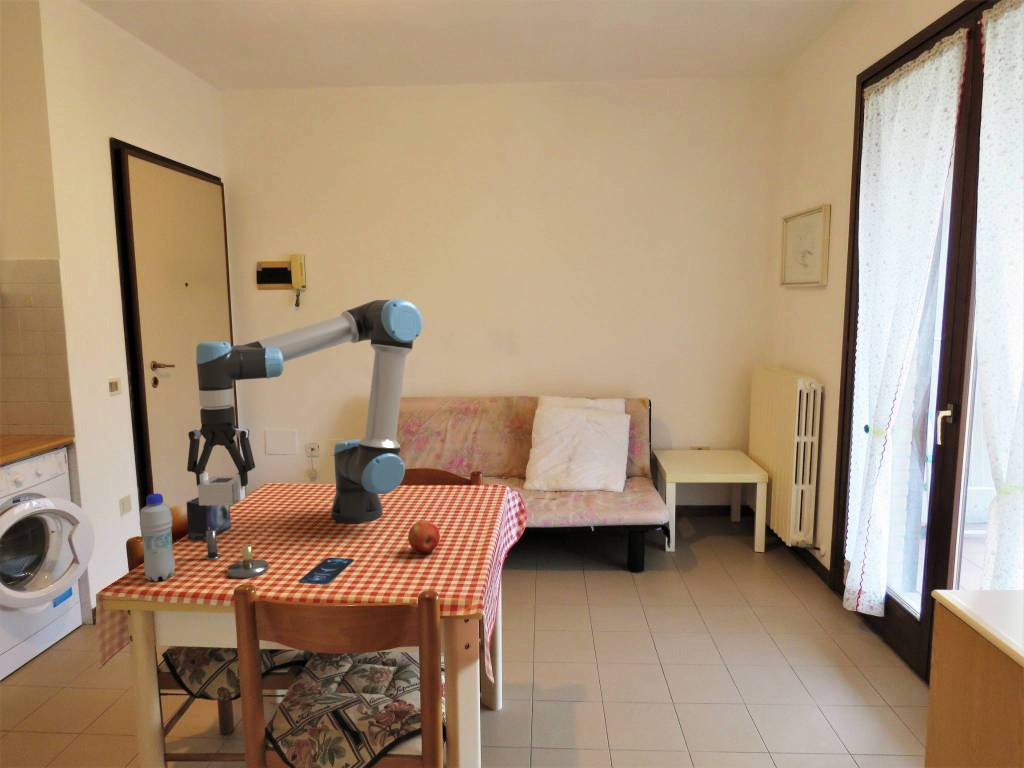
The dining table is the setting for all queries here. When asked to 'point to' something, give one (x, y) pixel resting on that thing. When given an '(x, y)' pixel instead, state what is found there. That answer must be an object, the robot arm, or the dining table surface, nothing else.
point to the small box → (206, 519)
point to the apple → (423, 537)
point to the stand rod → (211, 545)
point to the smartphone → (326, 571)
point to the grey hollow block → (218, 491)
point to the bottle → (157, 538)
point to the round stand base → (247, 565)
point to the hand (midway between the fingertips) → (223, 499)
